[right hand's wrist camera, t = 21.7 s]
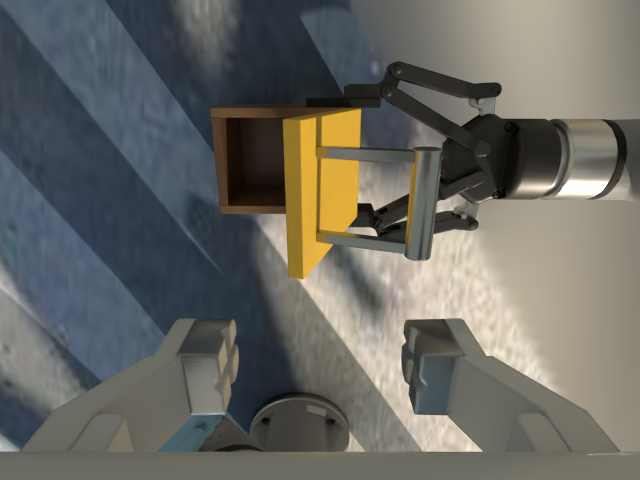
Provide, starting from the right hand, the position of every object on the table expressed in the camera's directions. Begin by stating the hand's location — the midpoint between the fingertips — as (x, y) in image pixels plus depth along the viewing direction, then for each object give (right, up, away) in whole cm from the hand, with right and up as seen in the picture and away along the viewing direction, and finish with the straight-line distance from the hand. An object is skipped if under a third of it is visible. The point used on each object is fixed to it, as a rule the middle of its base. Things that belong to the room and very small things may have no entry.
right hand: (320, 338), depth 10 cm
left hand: (-1, +10, +26) cm, 28 cm away
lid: (0, +7, +17) cm, 19 cm away
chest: (-3, +13, +32) cm, 35 cm away
